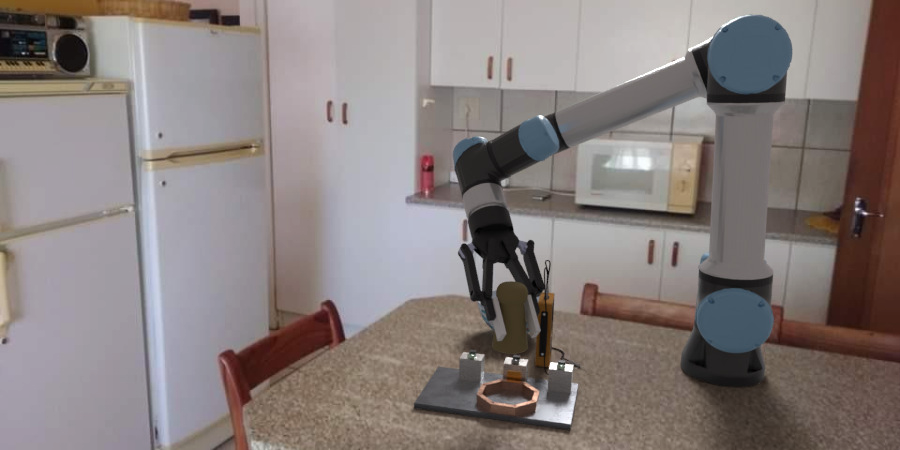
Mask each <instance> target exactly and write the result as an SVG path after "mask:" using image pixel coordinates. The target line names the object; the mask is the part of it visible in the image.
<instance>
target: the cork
mask: <svg viewBox="0 0 900 450" xmlns="http://www.w3.org/2000/svg"><path fill="white" fill-rule="evenodd" d="M495 290H496V296H497V297H498V301H499V305H500V310H501V314H502V318H503V322H504V326H505V330H506V336H505V337H504V338H503V340H502V341H497V337H496V333H495V329H494V330H493V331H494V332H493V335H492V343H491V348H492V349H493V350H494V351H497V352H499V353H503V354H511V355H512V354H513V355H516V354H520V353H524V352H526V351H528V348H529V343H528V342H529V341H528V333H527V330H526V319H525V308H524V303H525V302H526V300H527V297H528V290H527V288H526V286H525V285H524V284H522V283H520V282H515V281H511V280H510V281H504V282H501V283H499V284H498V286H497V287H496V289H495Z"/></svg>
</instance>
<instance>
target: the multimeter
mask: <svg viewBox="0 0 900 450" xmlns="http://www.w3.org/2000/svg"><path fill="white" fill-rule="evenodd" d="M547 262H548V264H549V265H547ZM551 263H552V262H551V260H549V259H546V260H545V261H544V266H545V267H544V269H543V282H544V286H545V289H544V291H543V292H542V293H541V295H540V297H539V301H538V305H539V308H540V313H539V315H538V316H537V319H538V322H539V326H540V330H541V331H540V332H539V334H538V335H537V336H536V338H535V339H536V340H535V358H534V359H535V360H534V361H535V362H534V366H535V367H540V368H541V367H542V368H543V369H544V373H545V374H546V375H549V372H547V370H546V369H547V368H549V367H550V363H551V359H552V349H553V350H556V351H560V352H561V353H562V355H561V360H564V361H566V362H568V363H569V364H571V365H573V366H577V367H573V371H574V370H577V369H578V368H580V367H581V368H583V369H584V370H588V368H587V367H586V366H583V365H581V364H580V363H578V362H575V361H573V360H571V359H570V360H569V359H567V358H564V356H565V351H563V350H561V349H559V348H556V347H553V332H554V330H553V328H554V314H555V313H554V310H555V292H550V289H549V278H550V271H551V266H552V265H551Z"/></svg>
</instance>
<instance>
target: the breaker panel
mask: <svg viewBox="0 0 900 450" xmlns="http://www.w3.org/2000/svg"><path fill="white" fill-rule="evenodd" d="M485 356H486V355H485V354H484V353H482V354H481V353H478V352H477V349H470V350H469V351H468V352H464V351H463V352H462V354H461V355H460V357H459V358H458V359H459V361H458V364H459V365H458V366H459V367H458V368H454V367H446V366H445V367H444V366H437V368H436V370H435V371H434V372H433V374H432V376H431V377H430V378H429V380H428V381H427V383H426V384H425V386H424V387H423V388H422V391H421V392H420V393H419V395H418V396H417V398H416V400H415V401H414V402H413V408H414V409H416V410H423V411H431V412H438V413H444V414H451V415H452V414H453V415H459V416H465V417H473V418H474V417H475V418H481V419H488V420H495V421H496V420H497V421H504V422H510V423H517V424H524V425H533V426H539V427H545V428H554V429H560V430H569V431H570V430H571V429H572V424H573V419H574V413H575V409H576V408H575V407H576V402H577V397H578V391H579V383H576V382H573V381H574V380H573V379H574V370H573V369H574V364H571V363H569V364H568V363H566V360H564V359H558V362H552V361H550V365H549V367H548V374H549V375H548V379H543V378H535V377H534V378H533V377H528V375H529V374H528V373H529V359H527V358H526V359H524V358H521V355H519V354H518V355H517V354H513V356H512V357H509V356H506V357H505V360H504V362H503V364H502V365H503V366H502V367H503V369H502V374H501V373H496V372H495V373H493V372H487V371H486V372H485V360H486V359H485Z"/></svg>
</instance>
